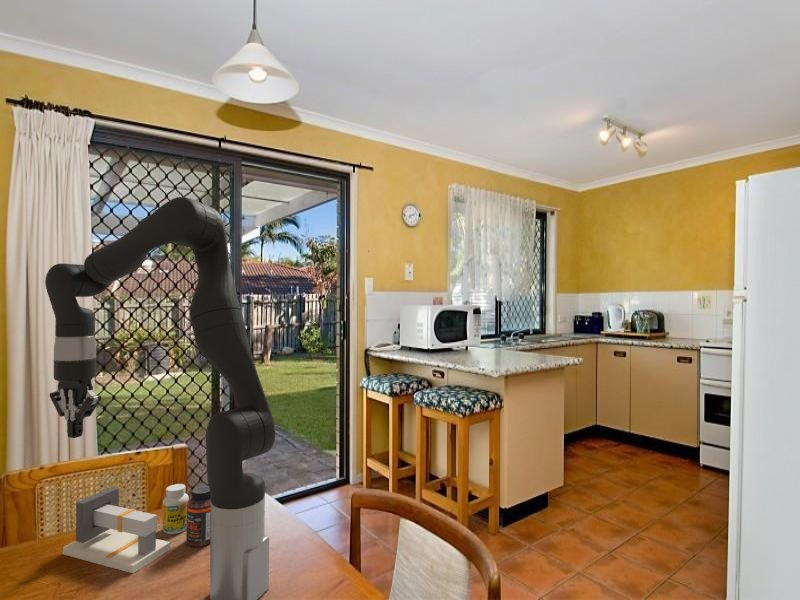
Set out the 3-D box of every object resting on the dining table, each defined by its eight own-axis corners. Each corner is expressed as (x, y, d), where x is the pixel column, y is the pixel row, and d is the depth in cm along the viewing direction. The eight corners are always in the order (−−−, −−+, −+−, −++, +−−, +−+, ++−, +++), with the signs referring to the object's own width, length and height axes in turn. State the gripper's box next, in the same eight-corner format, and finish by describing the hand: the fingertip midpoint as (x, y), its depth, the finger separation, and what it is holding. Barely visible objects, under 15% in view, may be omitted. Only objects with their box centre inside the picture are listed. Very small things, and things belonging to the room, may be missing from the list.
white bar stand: (170, 549, 97) (170, 508, 97) (133, 573, 89) (133, 528, 88) (103, 533, 103) (104, 494, 103) (62, 554, 95) (63, 512, 95)
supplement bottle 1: (186, 521, 109) (187, 480, 109) (190, 530, 105) (191, 488, 105) (161, 527, 106) (161, 485, 106) (164, 537, 102) (164, 494, 102)
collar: (118, 524, 101) (118, 488, 101) (83, 543, 93) (83, 503, 93) (111, 523, 102) (112, 486, 102) (75, 541, 94) (76, 502, 94)
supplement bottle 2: (179, 545, 98) (180, 493, 98) (198, 532, 104) (198, 482, 104) (204, 549, 97) (204, 496, 97) (221, 535, 103) (222, 485, 103)
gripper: (114, 356, 101) (113, 435, 101) (70, 353, 105) (70, 428, 105) (80, 360, 94) (80, 445, 94) (35, 357, 98) (35, 438, 98)
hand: (74, 436), depth 100 cm, fingers closed
